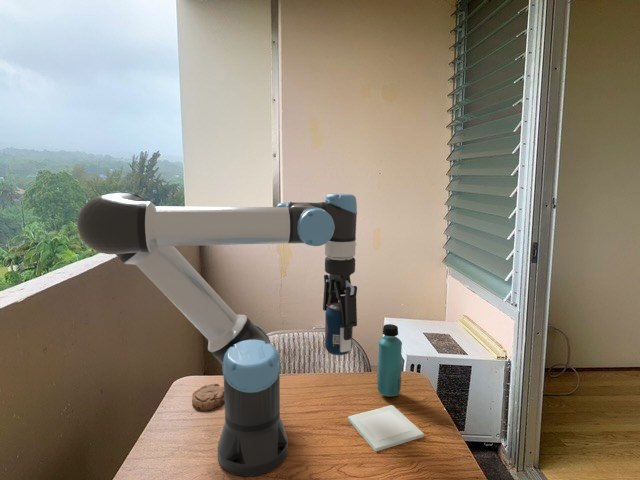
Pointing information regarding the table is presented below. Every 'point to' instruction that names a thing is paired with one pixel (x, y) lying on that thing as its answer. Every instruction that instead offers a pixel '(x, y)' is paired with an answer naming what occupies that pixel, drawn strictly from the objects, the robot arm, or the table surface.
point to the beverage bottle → (389, 362)
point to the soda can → (334, 329)
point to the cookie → (208, 397)
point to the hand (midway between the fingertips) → (338, 344)
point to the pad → (385, 427)
